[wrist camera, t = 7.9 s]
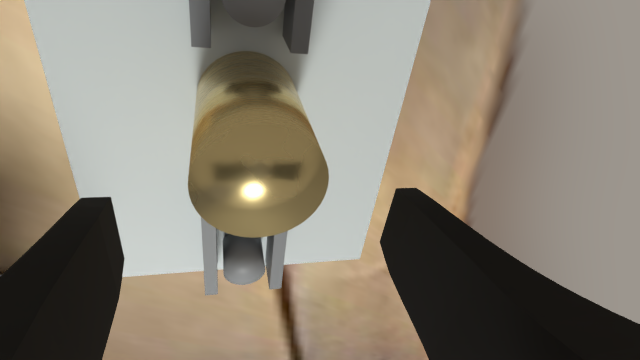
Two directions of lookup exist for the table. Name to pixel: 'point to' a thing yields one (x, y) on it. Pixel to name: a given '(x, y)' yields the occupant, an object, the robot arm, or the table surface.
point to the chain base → (179, 107)
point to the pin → (253, 149)
